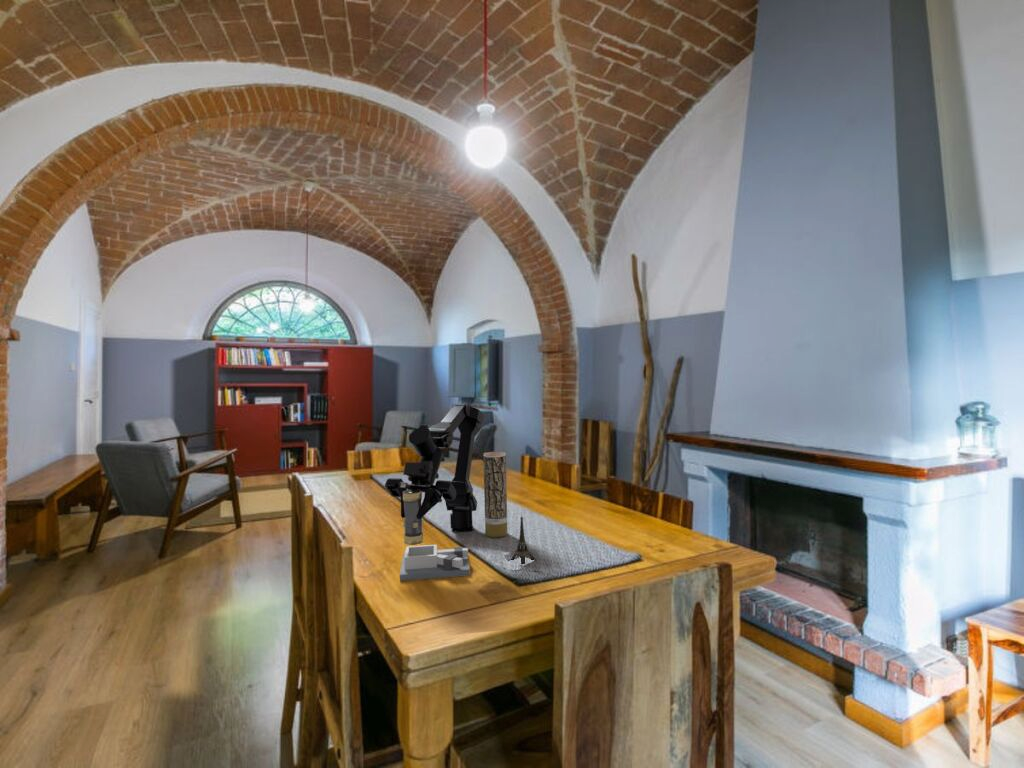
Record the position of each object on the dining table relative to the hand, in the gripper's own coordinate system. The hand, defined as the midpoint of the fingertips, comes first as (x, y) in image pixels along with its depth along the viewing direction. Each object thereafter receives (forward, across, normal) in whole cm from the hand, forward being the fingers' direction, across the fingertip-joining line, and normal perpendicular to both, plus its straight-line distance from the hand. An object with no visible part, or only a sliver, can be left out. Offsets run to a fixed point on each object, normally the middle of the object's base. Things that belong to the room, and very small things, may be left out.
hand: (410, 517), depth 130 cm
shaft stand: (+8, +5, +11) cm, 15 cm away
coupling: (+4, 0, +6) cm, 7 cm away
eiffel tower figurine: (+1, +25, +19) cm, 32 cm away
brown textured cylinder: (-12, +12, +32) cm, 36 cm away
